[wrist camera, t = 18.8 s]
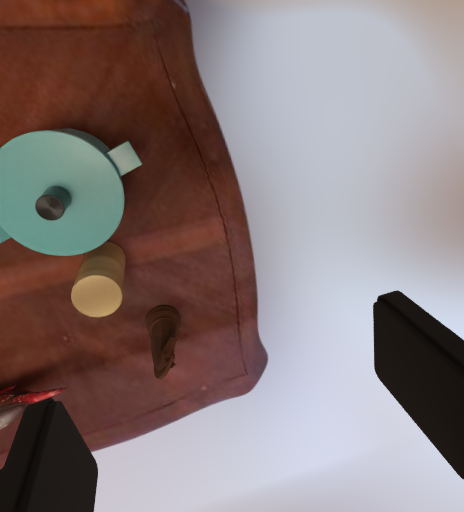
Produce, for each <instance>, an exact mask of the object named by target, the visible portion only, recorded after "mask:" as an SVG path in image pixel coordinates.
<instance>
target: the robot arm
mask: <svg viewBox="0 0 464 512" xmlns="http://www.w3.org/2000/svg"><path fill="white" fill-rule="evenodd" d="M373 318H374V367H375V372H376V374H377V376H378V378H379V379H380V381H381V382H382V383H383V384H384V385H385V387H386V388H387V389H388V390H389V391H390V393H391V394H392V395H393V396H394V398H395V399H396V400H397V401H398V402H399V404H400V405H401V406H402V407H403V408H404V410H405V411H406V412H407V413H408V414H409V416H410V417H411V418H412V419H413V420H414V422H415V423H416V424H417V425H418V427H419V428H420V429H421V430H422V431H423V433H424V434H425V435H426V436H427V437H428V439H429V440H430V441H431V442H432V443H433V445H434V446H435V447H436V448H437V450H438V451H439V452H440V453H441V454H442V456H443V457H444V458H445V459H446V460H447V462H448V463H449V464H450V465H451V466H452V468H453V469H454V470H455V471H456V472H457V474H458V475H459V476H460V477H461V478H462V479H464V340H463V339H461V338H460V337H459V336H458V335H456V334H455V333H454V332H452V331H451V330H450V329H448V328H447V327H445V326H444V325H443V324H442V323H440V322H439V321H438V320H436V319H435V318H434V317H433V316H431V315H430V314H429V313H427V312H426V311H425V310H424V309H422V308H421V307H419V306H418V305H417V304H416V303H414V302H413V301H412V300H411V299H409V298H408V297H407V296H405V295H404V294H403V293H402V292H400V291H393V292H390V293H387V294H384V295H380V296H378V299H377V302H375V303H374V305H373ZM97 478H98V468H97V463H96V461H95V459H94V457H93V455H92V454H91V452H90V450H89V448H88V447H87V445H86V443H85V442H84V440H83V438H82V436H81V435H80V433H79V431H78V429H77V428H76V426H75V424H74V423H73V421H72V419H71V417H70V416H69V414H68V412H67V410H66V409H65V407H64V405H63V404H62V402H61V401H56V402H55V401H54V399H52V398H48V399H44V400H41V401H38V402H35V403H31V404H29V405H27V406H26V408H25V410H24V413H23V416H22V419H21V421H20V424H19V427H18V430H17V432H16V435H15V438H14V440H13V443H12V446H11V449H10V451H9V454H8V457H7V460H6V462H5V465H4V467H3V468H2V469H1V470H0V512H94V504H95V494H96V487H97Z"/></svg>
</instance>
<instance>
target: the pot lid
mask: <svg viewBox="0 0 464 512" xmlns="http://www.w3.org/2000/svg"><path fill="white" fill-rule="evenodd" d="M123 210H124V189H123V185H122V182H121V179H120V177H119V174H118V172H117V170H116V169H115V167H114V165H113V164H112V163H111V161H110V160H109V159H108V158H107V157H106V156H105V155H104V153H103V152H101V151H100V150H99V149H98V148H97V147H95V146H94V145H92V144H91V143H89V142H88V141H86V140H84V139H82V138H80V137H78V136H75V135H72V134H69V133H65V132H61V131H53V130H40V131H34V132H29V133H26V134H22V135H20V136H18V137H16V138H13V139H12V140H10V141H9V142H7V143H6V144H4V145H3V146H2V147H1V148H0V226H1V227H2V229H3V230H4V231H5V232H6V233H7V234H8V235H9V236H11V237H12V238H13V239H15V240H16V241H17V242H19V243H21V244H22V245H24V246H26V247H28V248H30V249H32V250H35V251H38V252H40V253H44V254H49V255H56V256H70V255H77V254H82V253H85V252H88V251H91V250H93V249H95V248H97V247H98V246H100V245H102V244H103V243H104V242H105V241H107V240H108V239H109V238H110V237H111V236H112V234H113V233H114V232H115V230H116V229H117V227H118V225H119V223H120V221H121V218H122V215H123Z"/></svg>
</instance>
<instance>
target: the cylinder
mask: <svg viewBox="0 0 464 512" xmlns="http://www.w3.org/2000/svg"><path fill="white" fill-rule="evenodd" d="M125 264H126V257H125V254H124V252H123V250H122V249H121V248H120V247H119V246H117V245H116V244H114V243H111V242H106V241H105V242H104V243H103V244H102V245H100V246H98V247H97V248H95V249H93V250H91V251H88V252H85V255H84V258H83V260H82V263H81V266H80V269H79V272H78V275H77V278H76V281H75V283H74V286H73V289H72V293H71V299H72V302H73V304H74V306H75V307H76V309H77V310H78V311H80V312H81V313H83V314H85V315H87V316H91V317H103V316H107V315H109V314H111V313H113V312H114V311H116V310H117V309H118V307H119V306H120V304H121V302H122V296H123V285H124V274H125Z"/></svg>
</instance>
